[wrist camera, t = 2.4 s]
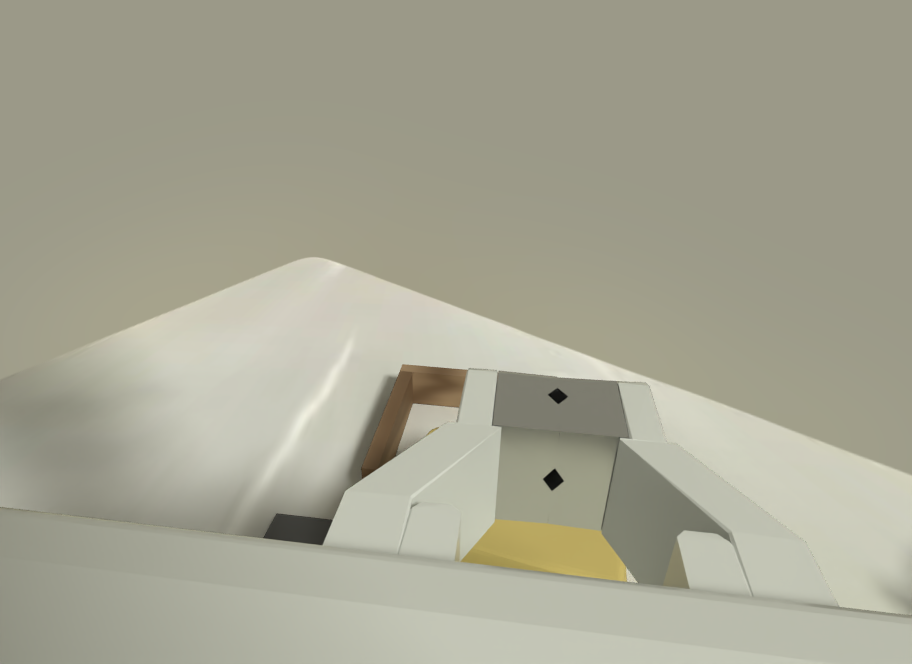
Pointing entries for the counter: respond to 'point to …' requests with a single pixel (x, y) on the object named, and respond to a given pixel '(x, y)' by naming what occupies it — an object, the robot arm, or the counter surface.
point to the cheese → (547, 549)
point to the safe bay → (407, 390)
